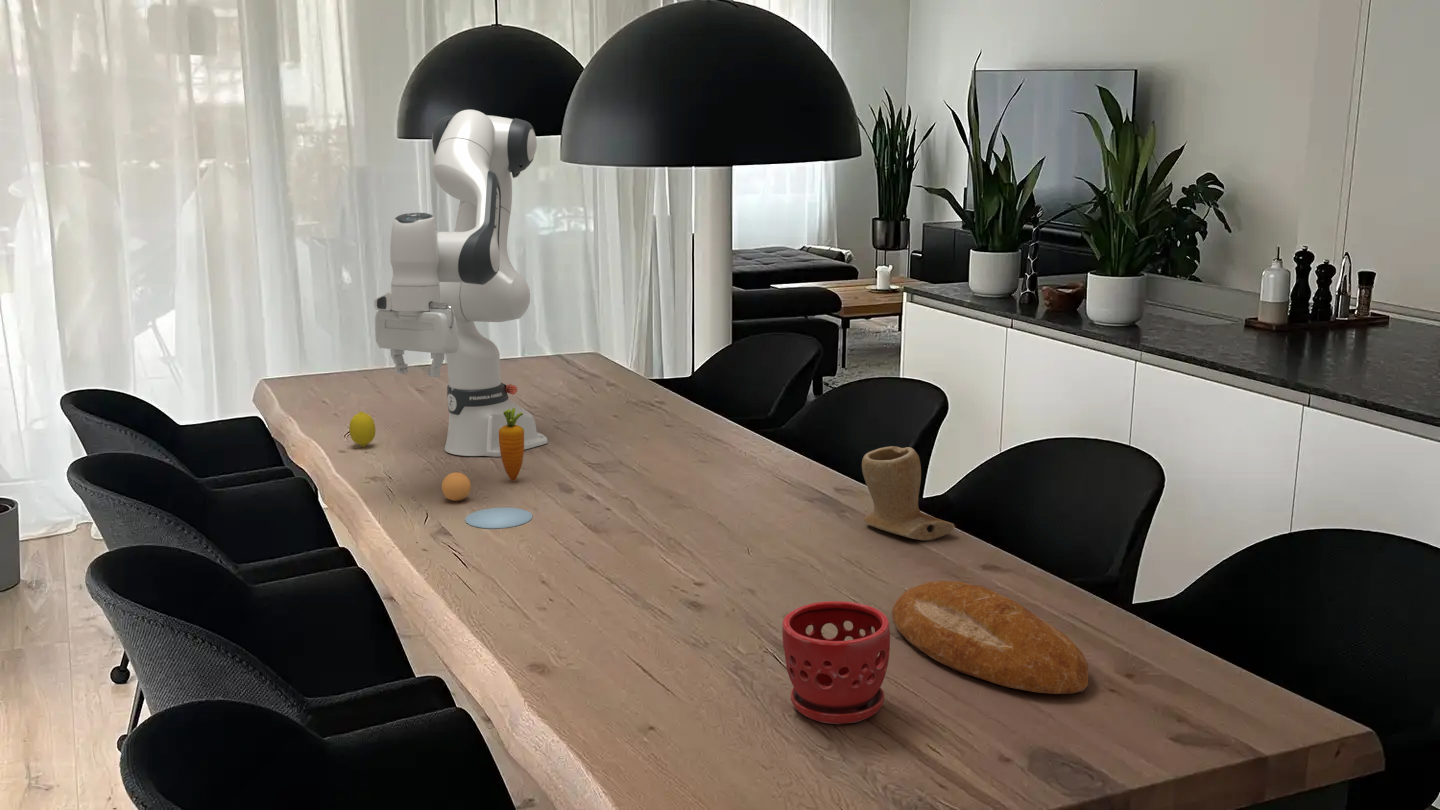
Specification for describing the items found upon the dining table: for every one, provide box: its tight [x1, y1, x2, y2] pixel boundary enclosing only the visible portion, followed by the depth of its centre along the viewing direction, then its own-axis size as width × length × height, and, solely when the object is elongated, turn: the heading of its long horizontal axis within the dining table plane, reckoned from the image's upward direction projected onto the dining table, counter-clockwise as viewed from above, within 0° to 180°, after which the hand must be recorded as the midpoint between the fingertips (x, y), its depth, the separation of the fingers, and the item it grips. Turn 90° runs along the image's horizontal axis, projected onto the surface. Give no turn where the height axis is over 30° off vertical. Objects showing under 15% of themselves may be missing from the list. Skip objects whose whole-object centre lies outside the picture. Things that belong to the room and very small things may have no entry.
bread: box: [891, 580, 1089, 695], centre depth 183 cm, size 18×35×9 cm, turn 30°
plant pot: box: [781, 600, 891, 725], centre depth 166 cm, size 13×13×12 cm
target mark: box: [464, 506, 533, 530], centre depth 244 cm, size 12×12×1 cm
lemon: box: [348, 411, 376, 448], centre depth 293 cm, size 6×6×8 cm
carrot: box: [499, 408, 525, 482], centre depth 265 cm, size 5×5×15 cm
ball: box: [441, 471, 472, 502], centre depth 254 cm, size 5×5×5 cm
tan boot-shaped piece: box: [861, 445, 956, 541], centre depth 233 cm, size 15×12×15 cm
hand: (417, 375), depth 251 cm, fingers open, 8 cm apart
